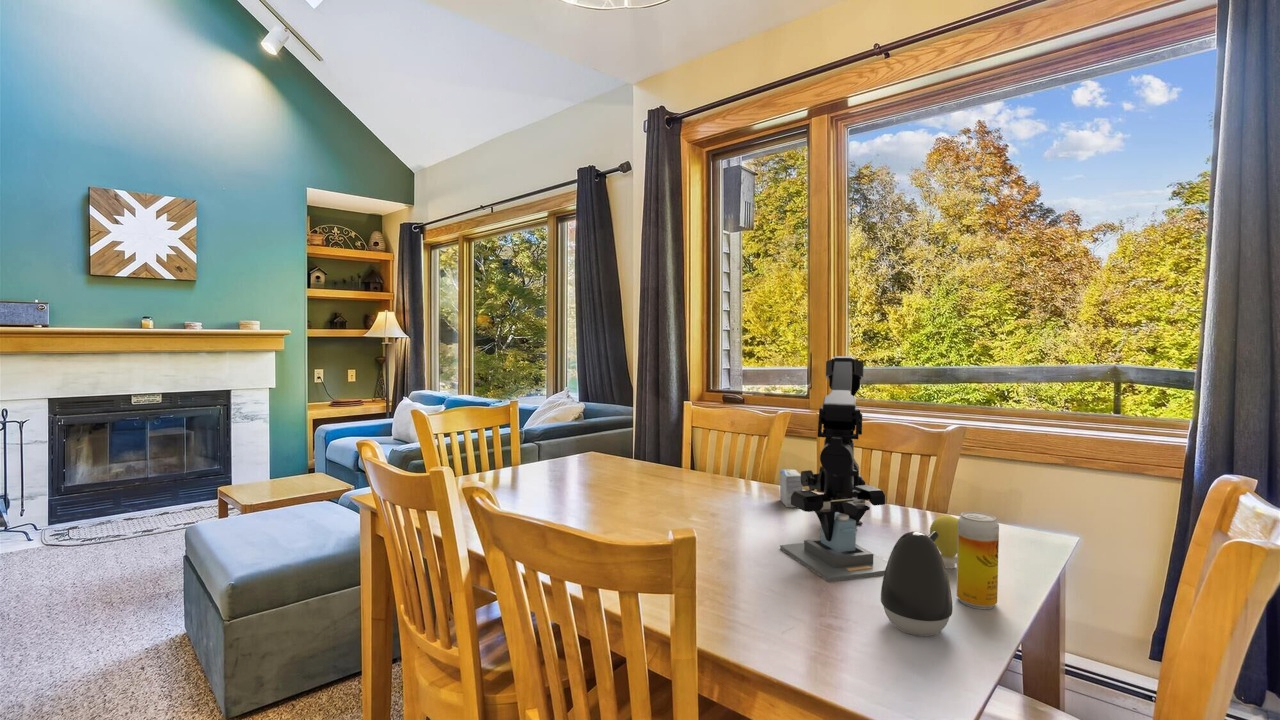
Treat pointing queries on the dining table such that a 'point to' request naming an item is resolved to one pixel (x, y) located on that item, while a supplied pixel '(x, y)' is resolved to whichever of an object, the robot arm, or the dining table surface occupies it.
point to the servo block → (842, 534)
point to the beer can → (977, 560)
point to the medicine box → (789, 485)
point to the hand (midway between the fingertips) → (837, 539)
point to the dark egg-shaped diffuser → (917, 586)
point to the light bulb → (946, 539)
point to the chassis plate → (836, 560)
